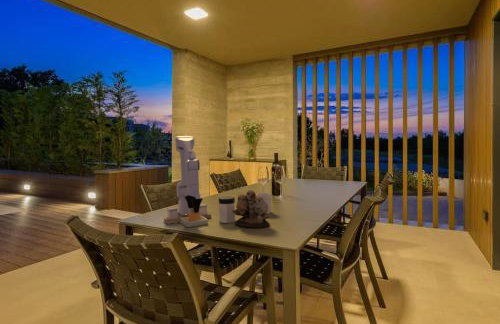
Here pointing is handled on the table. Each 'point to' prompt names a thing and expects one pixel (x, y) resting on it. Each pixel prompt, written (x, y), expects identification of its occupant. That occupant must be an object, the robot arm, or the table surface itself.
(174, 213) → the white fuse
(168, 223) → the rack
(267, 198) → the mug
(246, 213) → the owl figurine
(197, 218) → the block
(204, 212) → the block
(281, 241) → the table surface
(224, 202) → the jar
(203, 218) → the tray
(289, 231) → the table surface
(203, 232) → the table surface
